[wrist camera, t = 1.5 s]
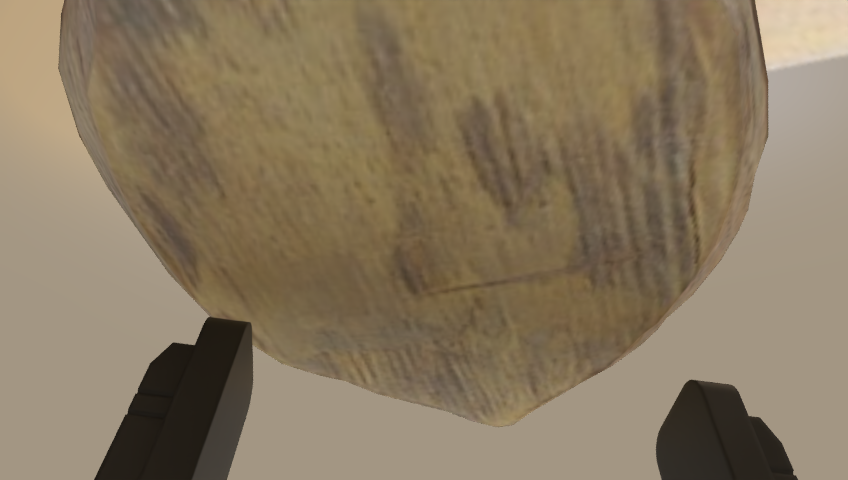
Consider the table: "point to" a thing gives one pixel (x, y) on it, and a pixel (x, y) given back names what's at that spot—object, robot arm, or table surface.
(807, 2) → the table surface
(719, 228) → the tankard
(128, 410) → the robot arm
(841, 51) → the table surface
